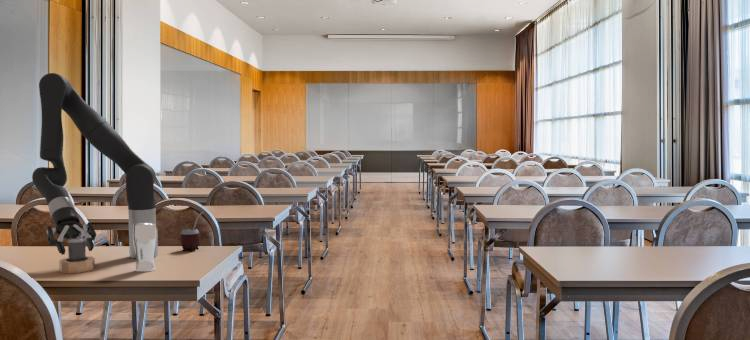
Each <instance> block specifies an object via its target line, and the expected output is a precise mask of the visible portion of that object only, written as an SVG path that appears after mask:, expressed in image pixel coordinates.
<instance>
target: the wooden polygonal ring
mask: <svg viewBox="0 0 750 340" xmlns="http://www.w3.org/2000/svg"><path fill="white" fill-rule="evenodd" d="M95 265H96V261H95V257H94V256H89V255H88V256H86V260H81V261H69V257H64V258H62V259H59V260H58V268H59V269H58V270H59V273H61V274H78V273H85V272H90V271H94V270H95V268H96V266H95Z"/></svg>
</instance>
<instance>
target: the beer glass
mask: <svg viewBox="0 0 750 340" xmlns="http://www.w3.org/2000/svg"><path fill="white" fill-rule="evenodd" d="M133 243H134V249H135V253H136V258H135V259H136V264H135V268H134V270H135V272H136V273H145V272H148V273H149V272H153V271H155V270H156V269H157V268H156V264H155V263H156V262H155V257H154V252H155V245H156V229H155V223H152V222H145V223H136V224H133Z"/></svg>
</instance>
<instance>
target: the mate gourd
mask: <svg viewBox="0 0 750 340" xmlns="http://www.w3.org/2000/svg"><path fill="white" fill-rule="evenodd" d="M204 212H205V210H204V211H202V212H200V213H199V214H198V215H197V216H196V218H195V222H194V224H193V228H184V229H182V231H181V233H180V243H181V248H182V252H189V251H188V250H190V252H195V251H196V250H195V249H199V248H200V247H199V245H200V241H201V240H200V239H201V234H200V231H199V230H198V229H197V228H196V226H197V222H198V220H199V218H200V216H201V215H202V214H203V213H204Z"/></svg>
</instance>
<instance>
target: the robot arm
mask: <svg viewBox="0 0 750 340" xmlns="http://www.w3.org/2000/svg"><path fill="white" fill-rule="evenodd" d="M38 88H39V89H38V90H39V97H40V106H41V107H40V108H41V110H40V111H41V129H40V130H41V131H40V147H39V158H40V159H41V160H43V161H45V162H46V161H47V162H49V163H51V164H52V166H53V167H42V166H41V167H37V168H35V169H34V171H33V172H32V175H31V176H32V177H31V178H32V182H33V183H32V184H33V185H34V186H35V189H37V191H38V192H39V193H40V194H41V196H43V198H44V199H45V201H46V204H47V206H48V211H49V216H50V217H51V219H52V223H53V226H54V227H52V226H50V225H49V226H47V228H46V231H45V233H46V238H47V242H48V245H49V246H56V248H57V251H58V253H59V254H61V255H65V254H66V247H65V246H64V243H63V241H64V239H66V240H68V239H73V238H85V245H86V246H87V249H88V251H89V252H92V251H93V249H94V247H95V244H94V241H95V239H96V237H97V233H96V230H95V229H94V226H93V225H92V223H91V222H87V223H86V224H82V223H81V222H80V218H79V216H78V213H77V211H76V209H75V205H74V204H73V202H72V200H71V198H70V196H69V193H68V190H67V189H66V188H65V187H64V186H65V185H66V183H67V180H68V174H67V171H66V166H65V162H64V156H63V155H64V154H63V153H64V130H63V128H64V127H63V121H62V119H63V118H62V113H63V112H64V113H66V115H68V117H70V119H71V120H72V122H73V124H74V125H75V127H76V128H77V130H78V131H79V132H80V134H81V135H82V136H83V137H84V138H85V140H87V141H88V142H89V143H90V144H91V145H92V147H94V149H96V150H97V151H99V152H100V153H101V154H102V155H103V156H105V157H106V158H108V159H109V160H111V161H112V162H113V163H114V164H116V166H117V167H119V168H120V170H121V171H122V172H123V173H124V174H125V189H126V190H125V192H126V202H127V207H128V208H127V211H128V237H129V238H128V240H129V241H128V242H129V245H128V246H129V257H130V258H131V259H136V253H135V249H134V243H133V224H136V223H145V222H152V223H155V229H156V245H155V252H154V258H155V257H157V256H158V255H159V245H158V244H159V241H158V240H159V239H158V228H157V216H156V215H157V214H156V213H157V210H156V199H155V193H154V192H155V191H154V190H155V188H154V187H155V186H154V184H155V182H156V181H157V176H156V175H157V174H156V172H155V169H153V167H152V166H151V165H149V164H148V163H147V162H145V160H143V159H142V158H141V157H139V155H138V154H136V152H134V151H133V150H132V149H131V148H130V146H129V145H128V144H127V143H126V141H125V140H124V139H123V138H122V136H121V135H120V134H119V133H118V132H117V131H116V130H115V129H114V128H113V126H112V125H111V124H110V123H109V122H108V121H107V120H106V119H105V118H104V117H103V116H102V115H101V114H99V112H97V111H96V110H95V109H94V108H92V107H91V105H89V104H88V103H87V102H86V101H85V100H84V99H83V97H82V96H81V95H80V94H79V93H78V92H77V90H76V89H75V88H74V86H72V84H71V82H70V81H69V80H68V78H66V77H64V76H63V75H60V74H59V73H57V72H56V73H55V72H49V73H46V74H44V75H43V76H42V77H41V78H40V80H39V81H38ZM55 233H56V234H58V235H59V236H58V238H57V239H56V238H55Z"/></svg>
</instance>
